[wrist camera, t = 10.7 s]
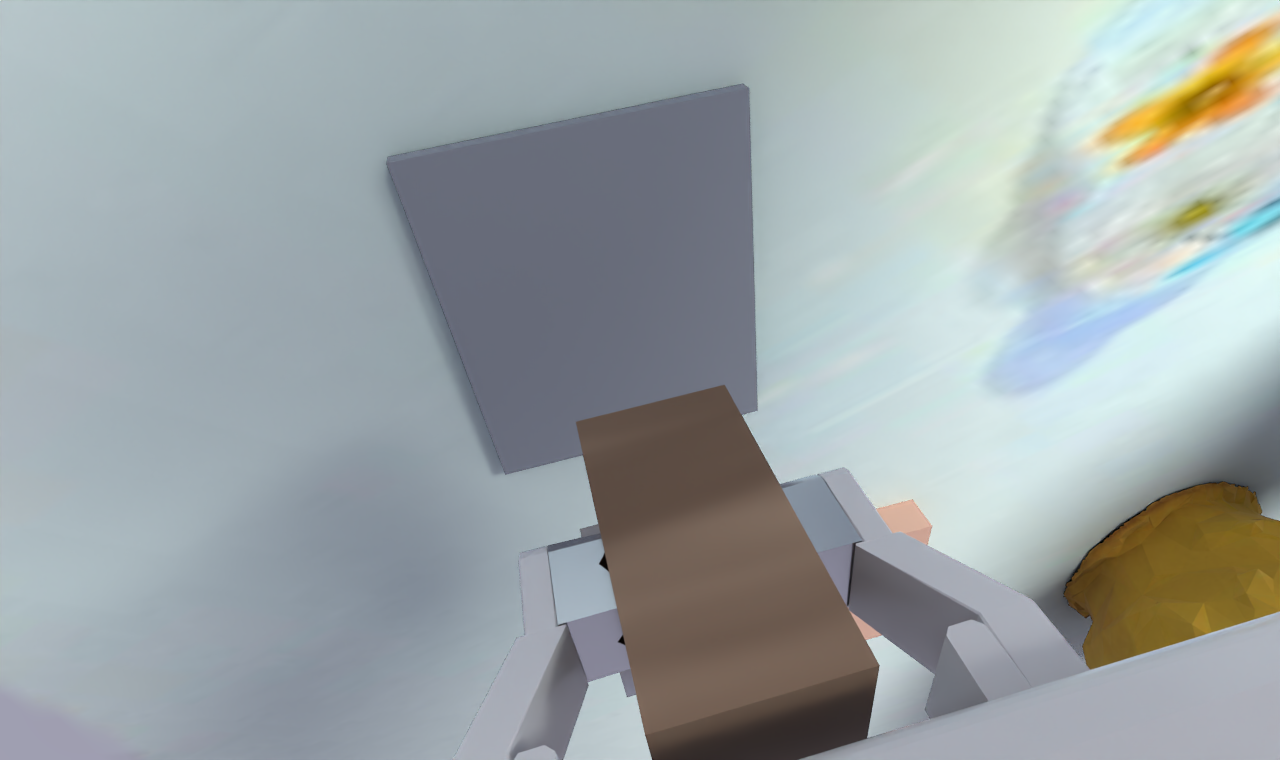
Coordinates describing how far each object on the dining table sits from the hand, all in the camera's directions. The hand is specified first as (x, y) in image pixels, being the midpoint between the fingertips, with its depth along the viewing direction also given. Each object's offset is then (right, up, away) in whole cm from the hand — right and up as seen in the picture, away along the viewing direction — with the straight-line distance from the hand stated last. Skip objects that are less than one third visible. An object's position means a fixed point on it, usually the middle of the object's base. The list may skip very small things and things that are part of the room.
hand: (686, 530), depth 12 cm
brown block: (0, -1, +4) cm, 4 cm away
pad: (-2, +5, +10) cm, 11 cm away
